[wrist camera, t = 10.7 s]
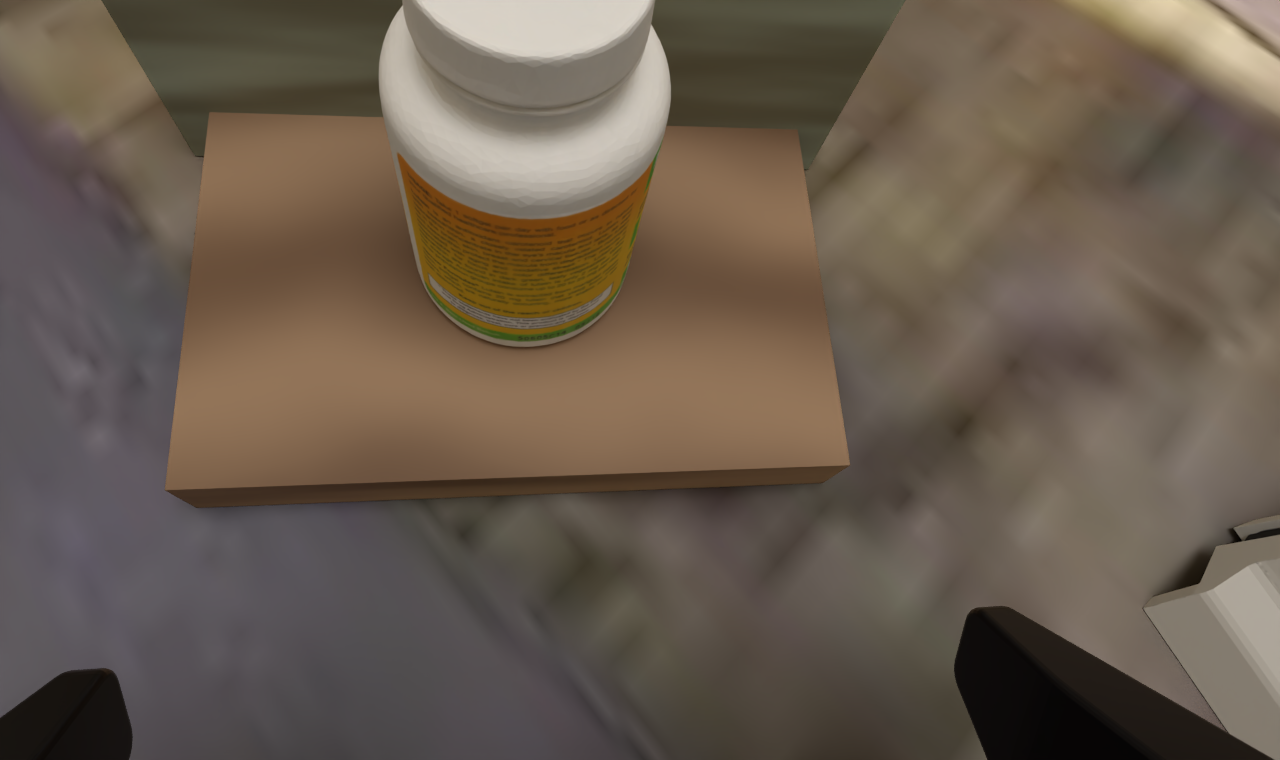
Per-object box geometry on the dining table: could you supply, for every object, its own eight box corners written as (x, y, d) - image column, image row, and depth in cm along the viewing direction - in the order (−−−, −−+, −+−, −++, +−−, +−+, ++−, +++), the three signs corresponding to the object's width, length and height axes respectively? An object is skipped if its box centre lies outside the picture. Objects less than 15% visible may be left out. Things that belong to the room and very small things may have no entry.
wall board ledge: (857, 481, 23) (1021, 385, 16) (152, 509, 20) (-57, 409, 13) (801, 129, 27) (912, -83, 19) (200, 111, 24) (61, -145, 17)
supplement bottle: (656, 319, 22) (759, 59, 13) (451, 379, 20) (403, 135, 11) (587, 148, 23) (635, -196, 14) (392, 193, 22) (307, -155, 13)
